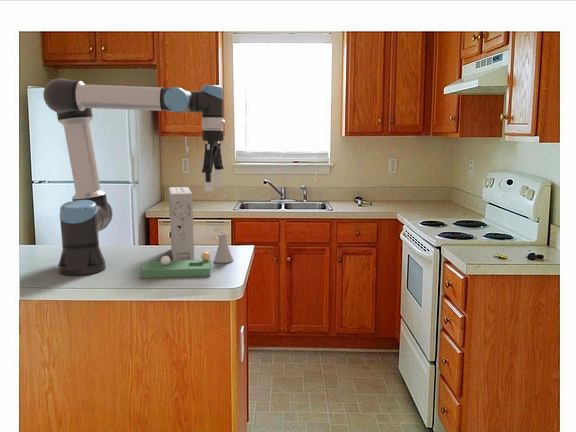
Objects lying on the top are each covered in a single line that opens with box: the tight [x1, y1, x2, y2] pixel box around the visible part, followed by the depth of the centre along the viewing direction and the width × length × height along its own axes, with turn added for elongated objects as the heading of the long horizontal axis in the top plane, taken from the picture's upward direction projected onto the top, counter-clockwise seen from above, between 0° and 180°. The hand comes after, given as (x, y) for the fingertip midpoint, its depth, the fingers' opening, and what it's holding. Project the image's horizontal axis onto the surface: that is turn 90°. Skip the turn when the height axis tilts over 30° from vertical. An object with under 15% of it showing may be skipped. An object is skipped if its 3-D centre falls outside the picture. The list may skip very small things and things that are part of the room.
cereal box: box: [168, 186, 195, 261], centre depth 201 cm, size 22×8×25 cm, turn 14°
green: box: [141, 259, 213, 279], centre depth 178 cm, size 22×12×2 cm, turn 96°
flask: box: [213, 233, 234, 264], centre depth 192 cm, size 7×7×10 cm
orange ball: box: [200, 251, 212, 261], centre depth 183 cm, size 3×3×3 cm
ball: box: [160, 255, 171, 265], centre depth 178 cm, size 3×3×3 cm
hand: (213, 189), depth 192 cm, fingers open, 13 cm apart
